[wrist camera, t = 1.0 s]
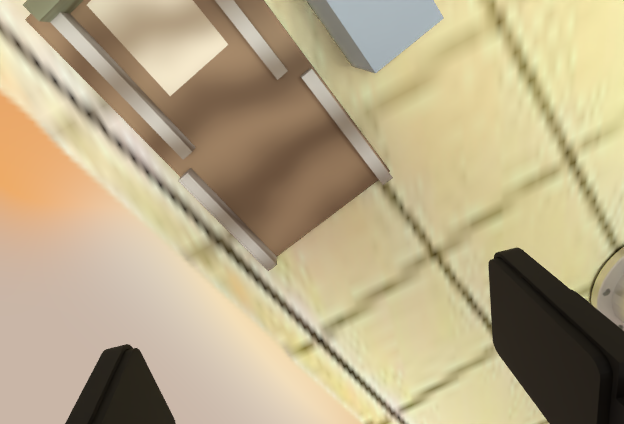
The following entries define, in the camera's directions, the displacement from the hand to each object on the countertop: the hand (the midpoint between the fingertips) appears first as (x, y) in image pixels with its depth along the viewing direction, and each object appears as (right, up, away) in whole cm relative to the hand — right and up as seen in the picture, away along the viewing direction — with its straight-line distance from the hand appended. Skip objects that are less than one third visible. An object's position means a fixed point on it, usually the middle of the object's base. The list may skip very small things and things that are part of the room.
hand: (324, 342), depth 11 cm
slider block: (+2, +19, +20) cm, 28 cm away
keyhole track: (-7, +12, +22) cm, 26 cm away
